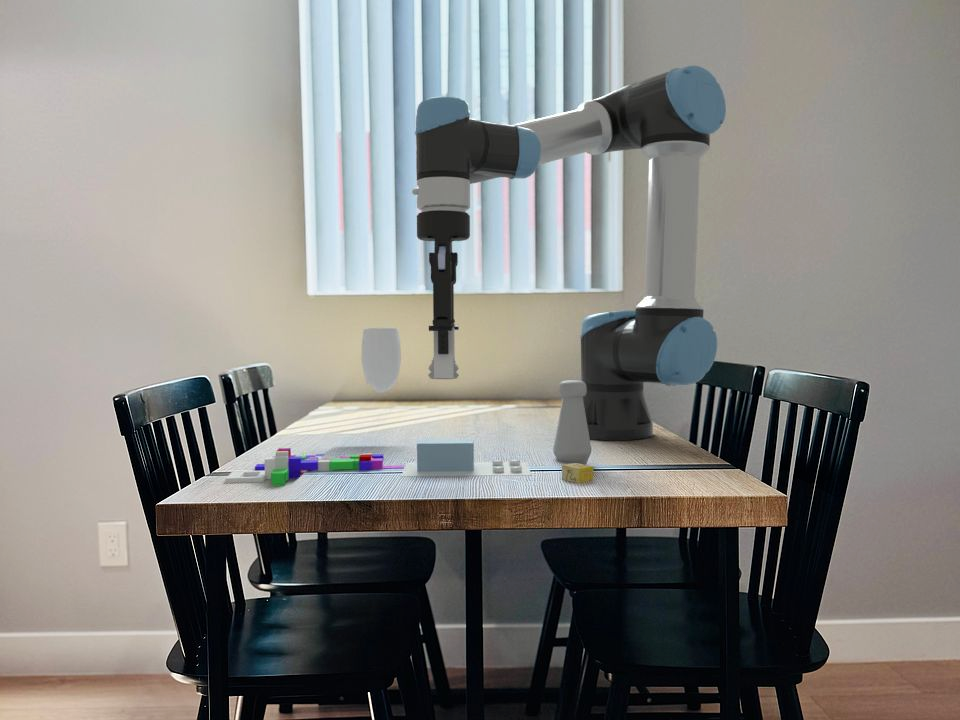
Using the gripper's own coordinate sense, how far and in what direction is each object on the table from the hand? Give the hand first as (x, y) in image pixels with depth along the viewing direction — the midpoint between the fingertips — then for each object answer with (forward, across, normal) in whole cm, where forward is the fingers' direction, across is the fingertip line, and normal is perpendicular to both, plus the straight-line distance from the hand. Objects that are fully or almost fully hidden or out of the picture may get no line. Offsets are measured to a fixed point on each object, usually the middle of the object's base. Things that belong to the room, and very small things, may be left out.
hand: (444, 376), depth 115 cm
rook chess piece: (0, 0, 0) cm, 1 cm away
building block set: (+15, -5, -19) cm, 25 cm away
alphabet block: (+15, +8, +18) cm, 25 cm away
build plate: (+14, 0, +3) cm, 15 cm away
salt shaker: (+15, -7, +19) cm, 25 cm away
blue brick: (+13, 0, 0) cm, 13 cm away
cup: (+15, -31, -13) cm, 37 cm away
